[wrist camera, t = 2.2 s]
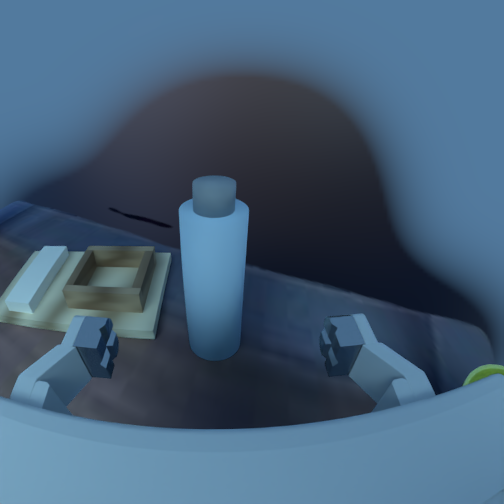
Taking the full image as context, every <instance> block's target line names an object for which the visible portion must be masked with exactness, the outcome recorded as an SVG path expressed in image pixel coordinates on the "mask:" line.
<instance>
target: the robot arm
mask: <svg viewBox="0 0 504 504" xmlns="http://www.w3.org/2000/svg"><path fill="white" fill-rule="evenodd" d="M324 327H325V329H324V330H323V331H322V332H321V335H320V350H321V354H322V355H323V356H324V357H325V358H326V361H325V367H326V370H327V373H328V376H329V377H332V376H342V375H349V377H350V378H351V379H352V380H353V381H355V382H356V383H357V384H358V385H359V386H360V387H361V388H362V389H363V390H364V391H365V392H366V393H367V394H368V395H369V396H370V397H371V398H372V399H373V400H374V401H375V402H376V403H377V405H376V406H375V408H374V409H373V411H372V412H371V413H367V414H362V415H357V416H352V417H346V418H341V419H335V420H328V421H321V422H314V423H307V424H298V425H289V426H278V427H265V428H247V429H179V428H161V427H149V426H138V425H129V424H121V423H113V422H106V421H100V420H94V419H88V418H83V417H77V416H73V415H72V414H71V412H70V411H69V410H68V409H67V408H66V406H67V405H68V404H69V403H70V402H71V401H72V400H73V399H74V397H75V396H76V395H77V394H78V393H79V392H80V391H81V390H82V389H83V387H84V386H85V385H86V384H87V383H88V382H89V381H90V380H91V379H92V377H98V378H109V379H111V377H112V373H113V369H114V363H113V359H114V358H115V357H117V354H118V347H119V342H118V337H117V334H116V333H115V332H114V331H113V330H112V328H113V323H112V320H111V319H110V318H103V317H92V316H79V315H76V316H74V317H73V319H72V321H71V323H70V326H69V328H68V330H67V332H66V334H65V337H64V339H63V341H62V344H61V345H57V346H56V347H54V348H53V349H52V350H50V351H49V352H48V353H47V354H45V355H44V356H43V357H41V358H40V359H39V360H38V361H36V362H35V363H34V364H32V365H31V366H30V367H29V368H27V369H26V370H25V371H24V372H22V373H21V374H20V375H19V377H18V379H17V381H16V384H15V386H14V389H13V391H12V394H11V396H10V399H7V398H4V397H1V396H0V504H504V375H502V374H499V373H497V374H493V375H490V376H488V377H485V378H483V379H480V380H478V381H475V382H473V383H470V384H467V385H465V386H462V387H459V388H456V389H454V390H451V391H448V392H445V393H442V394H439V395H435V393H434V391H433V389H432V386H431V384H430V382H429V380H428V378H427V376H426V374H425V372H423V371H422V370H421V369H419V368H418V367H416V366H415V365H413V364H412V363H410V362H409V361H408V360H406V359H405V358H403V357H402V356H400V355H399V354H397V353H396V352H394V351H393V350H392V349H390V348H389V347H387V346H386V345H384V344H383V343H378V341H377V339H376V337H375V335H374V333H373V331H372V329H371V327H370V325H369V323H368V321H367V319H366V317H365V315H364V314H351V315H339V316H327V317H326V318H325V321H324Z"/></svg>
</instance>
